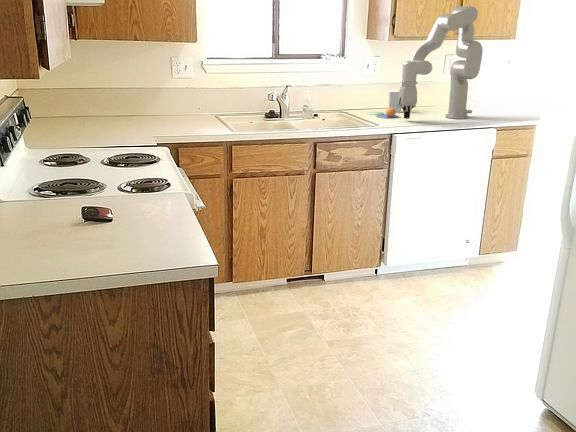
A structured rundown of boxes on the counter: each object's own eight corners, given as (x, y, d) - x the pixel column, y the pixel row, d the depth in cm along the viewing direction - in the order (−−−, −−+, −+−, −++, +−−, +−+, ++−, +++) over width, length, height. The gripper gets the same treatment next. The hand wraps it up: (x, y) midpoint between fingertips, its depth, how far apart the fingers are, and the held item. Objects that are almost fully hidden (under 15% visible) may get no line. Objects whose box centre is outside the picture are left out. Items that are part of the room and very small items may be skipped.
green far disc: (377, 111, 361) (377, 111, 361) (387, 114, 353) (387, 113, 353) (363, 112, 357) (363, 112, 357) (373, 115, 349) (373, 115, 349)
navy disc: (390, 114, 353) (390, 113, 353) (403, 117, 342) (403, 117, 342) (371, 115, 348) (371, 115, 348) (384, 119, 337) (384, 118, 337)
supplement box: (400, 111, 364) (401, 90, 360) (401, 113, 357) (402, 91, 353) (387, 111, 365) (388, 89, 361) (388, 112, 358) (389, 91, 354)
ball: (391, 113, 346) (393, 105, 343) (396, 118, 342) (398, 110, 339) (383, 114, 344) (385, 106, 341) (387, 119, 340) (389, 111, 337)
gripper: (415, 83, 331) (413, 116, 337) (393, 84, 324) (391, 118, 330) (424, 84, 324) (421, 118, 330) (401, 85, 318) (399, 120, 324)
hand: (406, 118), depth 330 cm, fingers closed
